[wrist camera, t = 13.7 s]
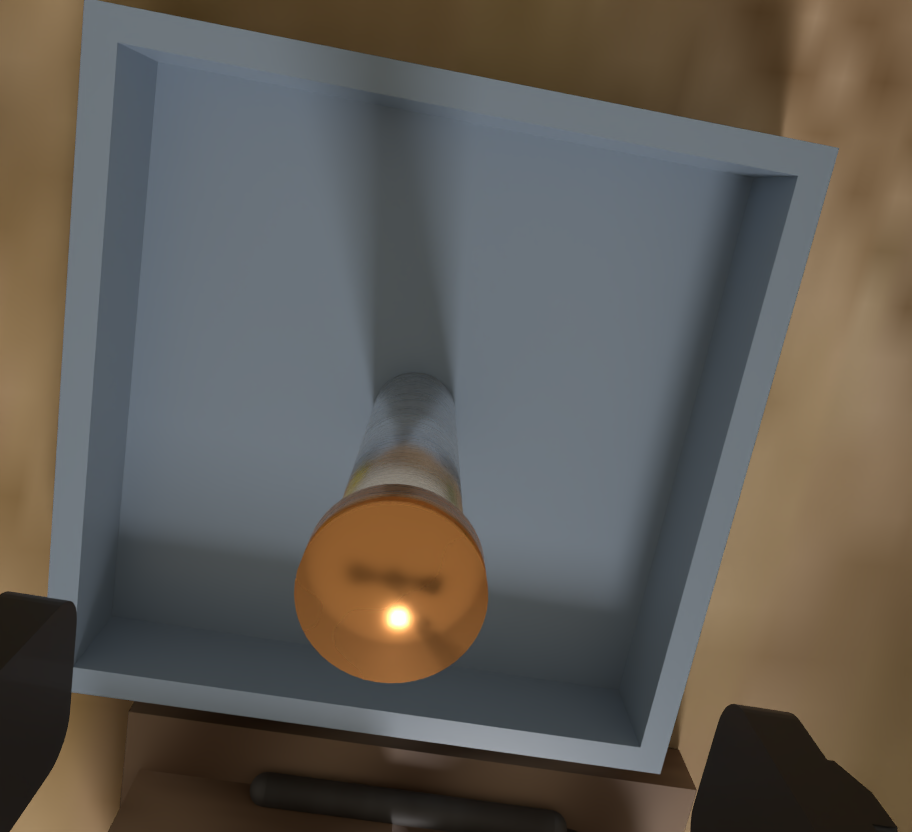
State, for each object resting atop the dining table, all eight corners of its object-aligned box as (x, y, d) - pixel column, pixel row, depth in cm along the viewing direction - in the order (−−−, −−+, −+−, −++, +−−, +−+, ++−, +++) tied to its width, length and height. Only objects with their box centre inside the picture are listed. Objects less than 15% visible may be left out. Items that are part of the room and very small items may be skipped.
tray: (780, 154, 23) (839, 148, 20) (632, 703, 28) (660, 774, 25) (137, 27, 22) (84, -3, 19) (91, 625, 27) (41, 688, 23)
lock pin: (474, 371, 24) (505, 522, 13) (455, 468, 25) (469, 696, 13) (372, 353, 24) (307, 490, 12) (356, 451, 25) (282, 667, 13)
